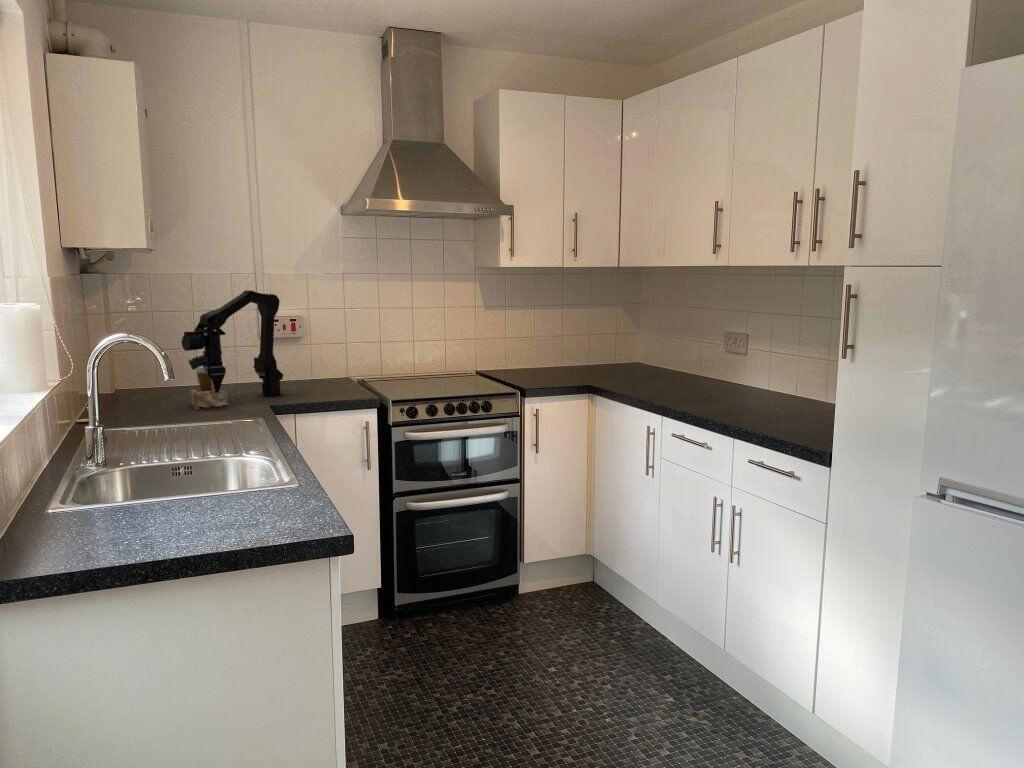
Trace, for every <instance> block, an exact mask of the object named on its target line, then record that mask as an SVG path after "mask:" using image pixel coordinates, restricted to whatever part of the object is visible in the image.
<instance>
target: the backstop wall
mask: <svg viewBox="0 0 1024 768" xmlns="http://www.w3.org/2000/svg"><path fill="white" fill-rule="evenodd" d="M197 392H198V391H197V390H196V389H190V393H191V397H190V398H191V404H192V407H193V406H194V407H193V408H194V410H195V409H197V410H200V408H199V400H198V394H197Z"/></svg>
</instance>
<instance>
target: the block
mask: <svg viewBox="0 0 1024 768" xmlns="http://www.w3.org/2000/svg"><path fill="white" fill-rule="evenodd" d="M196 392H197V394H198V400H199V407H204V408H211V407H210V406H216V407H223V406H222V405H229V403H228V402H229V401H228V393H227V391H226V390H225V389H220V390H219V393H215V394H212V391H203V392H201V391H196Z"/></svg>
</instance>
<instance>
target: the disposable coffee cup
mask: <svg viewBox="0 0 1024 768" xmlns="http://www.w3.org/2000/svg"><path fill="white" fill-rule="evenodd" d="M204 369H206V367H205V368H203V366H200V367H198V368H196V369H195V372H196V375H197V379H198V385H199V389H200V392H203V391H212V388H211V380H210V377H209V376H208V375H207V372H206V371H205V370H204ZM219 390H221V389H219Z"/></svg>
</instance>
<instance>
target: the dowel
mask: <svg viewBox="0 0 1024 768" xmlns="http://www.w3.org/2000/svg"><path fill="white" fill-rule="evenodd" d="M211 388H212V394H215V393H219V392H215V389H214V385H213V382H212V379H211Z"/></svg>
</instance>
